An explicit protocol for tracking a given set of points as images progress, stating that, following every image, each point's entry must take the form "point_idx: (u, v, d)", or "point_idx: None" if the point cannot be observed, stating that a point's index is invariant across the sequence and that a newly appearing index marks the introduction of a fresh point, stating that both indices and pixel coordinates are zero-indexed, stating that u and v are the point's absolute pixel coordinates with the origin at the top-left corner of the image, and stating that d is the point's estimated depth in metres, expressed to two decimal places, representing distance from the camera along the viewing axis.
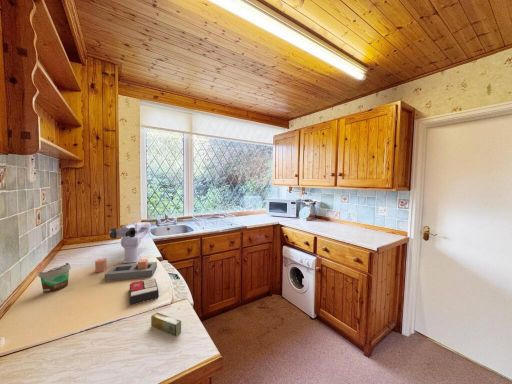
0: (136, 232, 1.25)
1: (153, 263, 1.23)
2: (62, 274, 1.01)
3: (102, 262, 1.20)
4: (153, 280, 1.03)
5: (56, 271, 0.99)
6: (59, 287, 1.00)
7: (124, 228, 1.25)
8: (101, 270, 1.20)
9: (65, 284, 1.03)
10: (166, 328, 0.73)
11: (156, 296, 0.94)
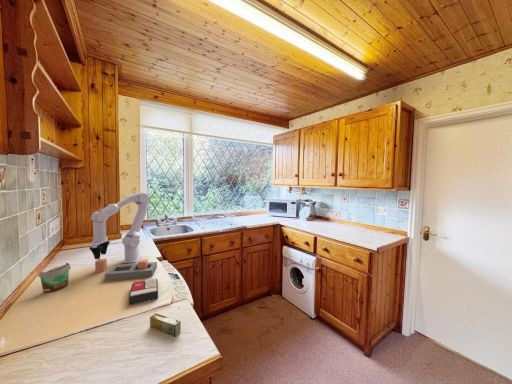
0: None
1: (153, 263, 1.23)
2: (62, 274, 1.01)
3: (102, 262, 1.20)
4: (155, 280, 1.03)
5: (56, 271, 0.99)
6: (59, 287, 1.00)
7: None
8: (101, 270, 1.20)
9: (65, 284, 1.03)
10: (165, 329, 0.73)
11: (155, 297, 0.93)
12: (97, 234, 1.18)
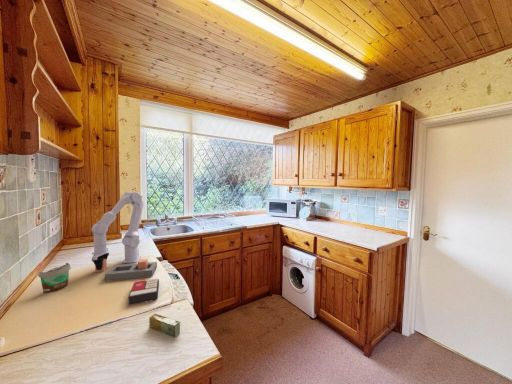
0: (95, 259, 1.15)
1: (153, 263, 1.23)
2: (62, 274, 1.01)
3: None
4: (156, 280, 1.03)
5: (56, 271, 0.99)
6: (59, 287, 1.00)
7: None
8: (101, 270, 1.20)
9: (65, 284, 1.03)
10: (165, 329, 0.72)
11: (155, 298, 0.92)
12: (97, 246, 1.18)
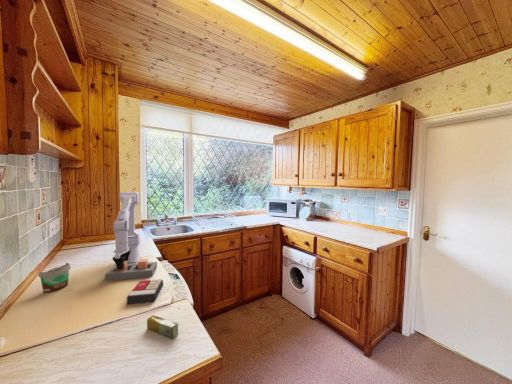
0: (117, 258, 1.09)
1: (153, 263, 1.23)
2: (62, 274, 1.01)
3: (124, 264, 1.14)
4: (159, 281, 1.02)
5: (56, 271, 0.99)
6: (59, 287, 1.00)
7: None
8: None
9: (65, 284, 1.03)
10: (162, 331, 0.72)
11: (152, 300, 0.91)
12: (120, 244, 1.13)
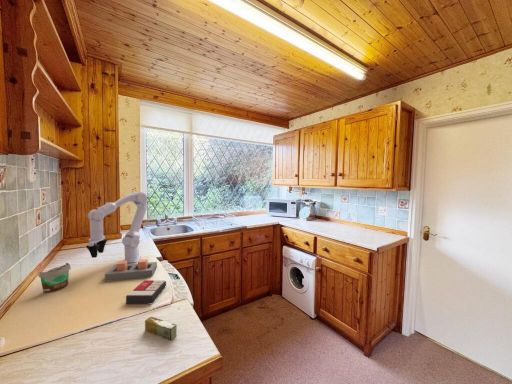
0: (91, 245, 1.13)
1: (153, 263, 1.23)
2: (62, 274, 1.01)
3: (124, 264, 1.14)
4: (160, 283, 1.01)
5: (56, 271, 0.99)
6: (59, 287, 1.00)
7: None
8: None
9: (65, 284, 1.03)
10: (161, 332, 0.71)
11: (149, 301, 0.90)
12: (94, 232, 1.16)
